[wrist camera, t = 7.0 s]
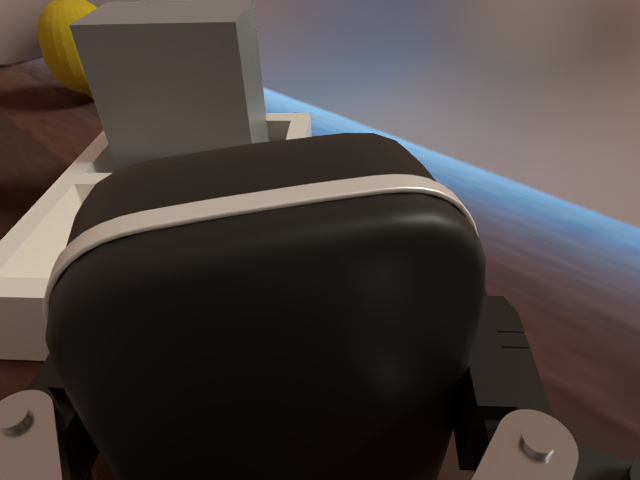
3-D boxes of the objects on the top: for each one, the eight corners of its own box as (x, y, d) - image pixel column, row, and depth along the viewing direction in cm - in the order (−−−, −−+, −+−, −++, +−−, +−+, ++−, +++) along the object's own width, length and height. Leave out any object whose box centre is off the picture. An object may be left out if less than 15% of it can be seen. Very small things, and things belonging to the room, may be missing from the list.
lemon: (120, 81, 43) (91, -20, 38) (141, 100, 40) (111, -8, 35) (55, 96, 41) (15, -9, 36) (70, 118, 37) (27, 5, 32)
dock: (312, 166, 30) (303, -12, 24) (280, 369, 18) (246, 121, 12) (134, 165, 31) (81, -7, 25) (-7, 359, 19) (-173, 122, 13)
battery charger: (391, 420, 17) (421, 92, 10) (437, 540, 14) (528, 192, 7) (182, 469, 16) (44, 140, 9) (182, 610, 13) (-27, 285, 6)
